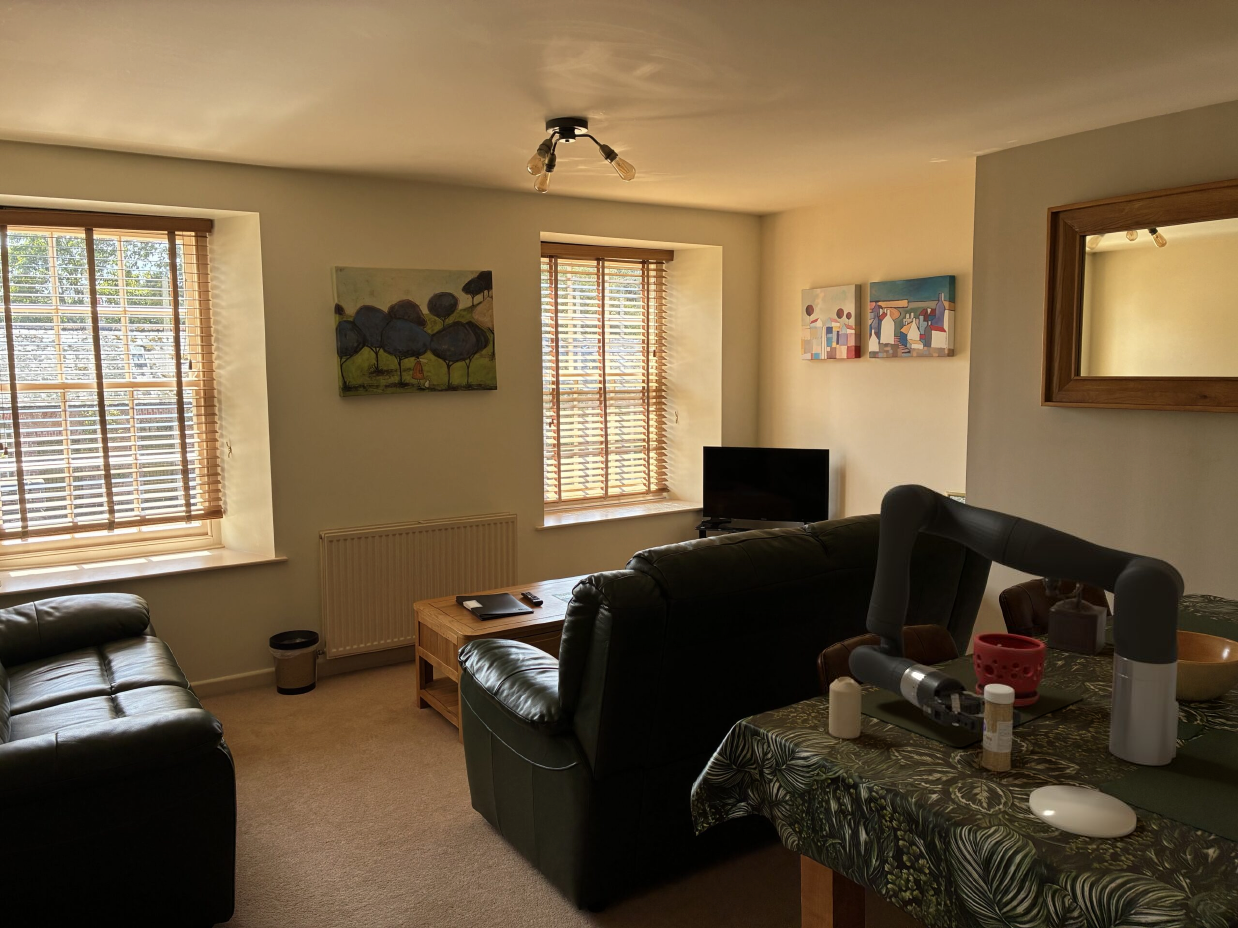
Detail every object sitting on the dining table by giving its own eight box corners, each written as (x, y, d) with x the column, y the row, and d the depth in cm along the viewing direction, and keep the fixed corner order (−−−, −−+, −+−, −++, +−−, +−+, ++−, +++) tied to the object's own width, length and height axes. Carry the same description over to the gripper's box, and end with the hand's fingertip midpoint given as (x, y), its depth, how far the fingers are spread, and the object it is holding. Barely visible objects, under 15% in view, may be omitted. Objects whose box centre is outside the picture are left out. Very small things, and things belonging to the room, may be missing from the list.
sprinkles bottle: (976, 761, 152) (979, 683, 151) (1002, 760, 153) (1005, 682, 151) (990, 773, 148) (993, 692, 146) (1016, 772, 148) (1020, 691, 147)
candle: (861, 740, 161) (862, 685, 160) (829, 737, 162) (830, 683, 161) (859, 728, 167) (860, 674, 166) (828, 725, 168) (829, 673, 167)
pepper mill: (1056, 637, 223) (1059, 564, 221) (1106, 645, 215) (1110, 570, 214) (1036, 652, 211) (1039, 575, 209) (1088, 661, 204) (1092, 582, 202)
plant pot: (1052, 712, 174) (1055, 651, 173) (980, 708, 176) (982, 648, 175) (1032, 688, 187) (1035, 631, 185) (965, 685, 189) (967, 629, 187)
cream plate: (1078, 785, 143) (1078, 779, 143) (1159, 826, 130) (1159, 820, 130) (1008, 800, 138) (1008, 794, 138) (1084, 845, 125) (1084, 838, 125)
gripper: (899, 675, 162) (964, 706, 147) (964, 665, 167) (1033, 694, 151) (898, 716, 162) (962, 751, 147) (963, 705, 167) (1031, 738, 152)
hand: (998, 722), depth 149 cm, fingers open, 8 cm apart
